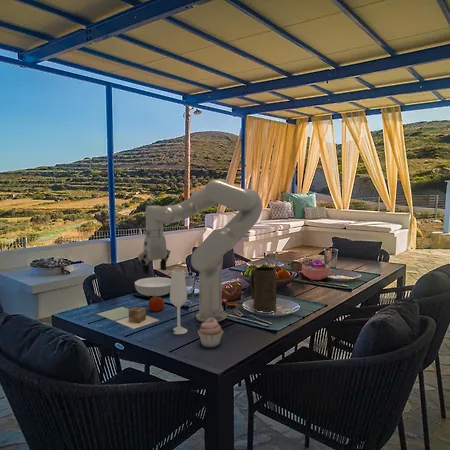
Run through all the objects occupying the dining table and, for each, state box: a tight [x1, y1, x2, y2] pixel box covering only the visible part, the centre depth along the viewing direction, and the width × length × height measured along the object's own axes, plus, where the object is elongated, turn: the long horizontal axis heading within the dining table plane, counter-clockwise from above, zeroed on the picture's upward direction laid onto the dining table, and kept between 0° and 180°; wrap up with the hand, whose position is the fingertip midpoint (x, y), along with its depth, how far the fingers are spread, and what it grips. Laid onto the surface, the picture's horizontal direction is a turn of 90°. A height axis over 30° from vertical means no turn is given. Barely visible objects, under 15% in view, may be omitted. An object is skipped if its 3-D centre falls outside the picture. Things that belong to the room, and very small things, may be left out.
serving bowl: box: [134, 276, 171, 298], centre depth 204 cm, size 21×21×7 cm
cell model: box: [301, 259, 331, 281], centre depth 235 cm, size 17×20×11 cm
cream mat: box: [115, 314, 160, 330], centre depth 163 cm, size 13×13×1 cm
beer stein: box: [249, 266, 277, 312], centre depth 179 cm, size 15×10×20 cm
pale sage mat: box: [96, 306, 131, 321], centre depth 172 cm, size 13×13×1 cm
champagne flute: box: [169, 269, 188, 335], centre depth 152 cm, size 7×7×24 cm
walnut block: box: [128, 306, 147, 323], centre depth 163 cm, size 5×5×5 cm
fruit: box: [148, 294, 165, 313], centre depth 176 cm, size 7×7×8 cm
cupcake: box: [197, 318, 224, 348], centre depth 140 cm, size 9×9×10 cm
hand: (154, 271), depth 175 cm, fingers open, 9 cm apart
